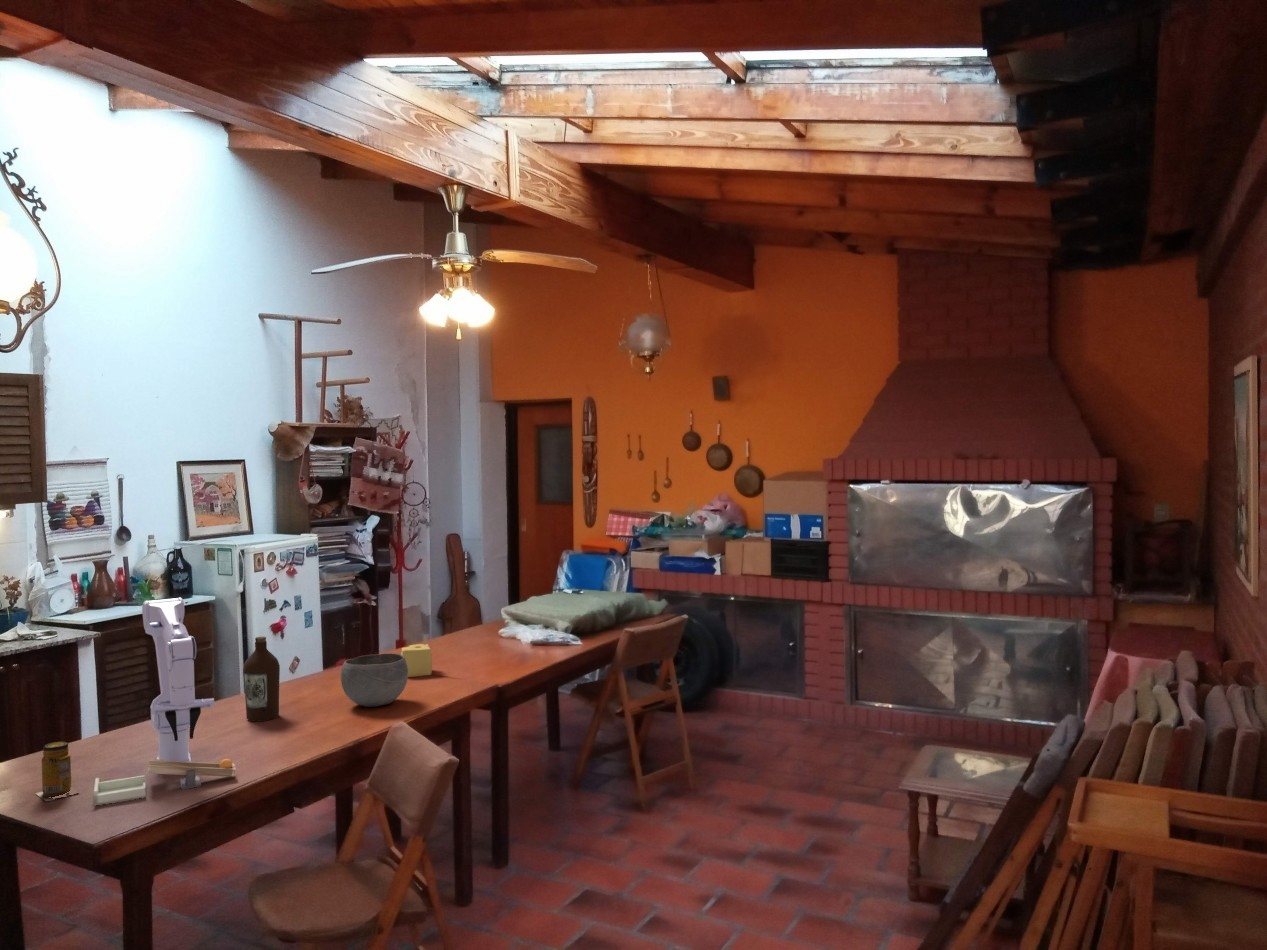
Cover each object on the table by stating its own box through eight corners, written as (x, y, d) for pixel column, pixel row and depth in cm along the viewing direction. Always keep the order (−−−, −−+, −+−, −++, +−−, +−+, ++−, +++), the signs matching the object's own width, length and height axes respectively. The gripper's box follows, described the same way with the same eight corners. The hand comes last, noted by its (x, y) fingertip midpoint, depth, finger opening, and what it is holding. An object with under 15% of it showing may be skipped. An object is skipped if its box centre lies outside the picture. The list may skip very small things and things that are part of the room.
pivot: (180, 781, 241) (179, 764, 241) (199, 778, 243) (198, 761, 243) (181, 789, 235) (180, 773, 235) (201, 786, 237) (200, 769, 237)
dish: (96, 792, 234) (95, 778, 234) (145, 784, 239) (144, 770, 239) (94, 806, 225) (94, 791, 225) (145, 797, 230) (145, 783, 230)
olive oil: (254, 712, 304) (252, 634, 304) (287, 712, 303) (284, 634, 303) (237, 722, 294) (235, 640, 293) (271, 722, 293) (268, 640, 292)
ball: (217, 768, 243) (221, 756, 244) (229, 769, 245) (233, 758, 245) (218, 771, 241) (222, 759, 241) (231, 773, 242) (234, 761, 242)
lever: (147, 761, 242) (148, 753, 242) (230, 765, 251) (231, 757, 251) (147, 774, 232) (149, 766, 232) (234, 777, 241) (235, 769, 241)
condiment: (68, 786, 239) (66, 738, 239) (79, 794, 233) (78, 745, 233) (35, 794, 234) (33, 745, 234) (46, 802, 228) (44, 752, 228)
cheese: (400, 671, 357) (400, 645, 357) (430, 669, 361) (429, 643, 360) (402, 678, 347) (401, 650, 347) (432, 675, 351) (432, 648, 350)
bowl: (417, 696, 321) (416, 651, 320) (395, 713, 300) (394, 666, 299) (356, 695, 323) (355, 651, 323) (330, 713, 302) (329, 665, 302)
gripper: (150, 692, 236) (152, 747, 237) (214, 685, 243) (216, 738, 243) (149, 686, 243) (151, 740, 243) (212, 679, 249) (213, 731, 250)
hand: (183, 738), depth 244 cm, fingers open, 3 cm apart
